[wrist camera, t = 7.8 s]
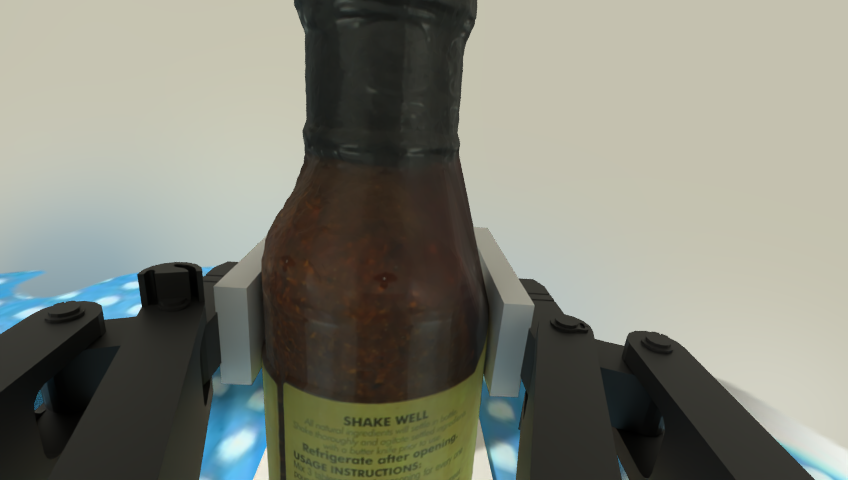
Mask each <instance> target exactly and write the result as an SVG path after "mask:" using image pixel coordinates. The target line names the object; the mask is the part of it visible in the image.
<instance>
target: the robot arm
mask: <svg viewBox="0 0 848 480" xmlns="http://www.w3.org/2000/svg"><path fill="white" fill-rule="evenodd" d="M473 228H474V233H475V238H476V243H477V248H478V253H479V258H480V263H481V268H482V273H483V278H484V283H485V288H486V293H487V298H488V303H489V328H488V338H487V348H486V360H485V365H484V377H485V380H486V384H487V388H488V391H489V395H490V396H498V397H518V394H519V389H520V383H521V379H522V382H523V384H524V387H525V389H526V391H525V397H524V402H523V407H522V412H521V418H520V423H519V428H518V429H519V430H520V441H519V451H518V462H517V473H516V480H622V479H621V473H620V468H619V463H618V458H619V460H620V462H621V464H622V466H623V468H624V470H625V472H626V474H627V476H628V478H629V480H815V479H814V478H813V477H812V476H811V475H810V474H809V473H808V472H807V471H806V470H805V469H804V468H803V467H802V466H801V465H800V464H799V463H798V462H797V461H796V460H795V459H794V458H793V457H792V456H791V455H790V454H789V453H788V452H787V451H786V450H785V449H784V448H783V447H782V446H781V445H780V444H779V443H778V442H777V441H776V440H775V439H774V438H773V437H772V436H771V435H770V434H769V433H768V432H767V431H766V430H765V429H764V428H763V427H762V426H761V425H760V424H759V423H758V422H757V421H756V420H755V419H754V418H753V417H752V415H751V414H750V413H749V412H748V411H747V410H746V409H745V408H744V407H743V406H742V405H741V404H740V403H739V402H738V401H737V400H736V399H735V398H734V397H733V396H732V395H731V394H730V393H729V392H728V391H727V390H726V389H725V388H724V387H723V386H722V385H721V384H720V383H719V382H718V381H717V380H716V379H715V378H714V377H713V376H712V375H711V374H710V373H709V372H708V371H707V370H706V369H705V368H704V367H703V366H702V365H701V364H700V363H699V362H698V361H697V360H696V359H695V358H694V357H693V356H692V355H691V354H690V353H689V352H688V351H687V350H686V349H685V348H684V347H683V346H681V345H680V344H679V343H678V342H676V341H674V340H672V339H670V338H668V336H665V335H663V334H661V335H660V334H659V333H656V332H647V331H634V332H631V333H629V334H628V336H627V339H626V343H625V346H622V345H617V344H613V343H609V342H604V341H600V340H597V339H594V334H593V331H592V329H591V327H590V326H589V325H588V324H586V323H585V322H584V321H582V320H579V319H577V318H575V317H572V316H569V315H565V314H564V313H563V312H562V311H561V309H560V308H559V306H558V305H557V304H556V302H554V299H553V298H552V297H551V295H550V294H549V293H548V291H547V290H546V288H545V287H544V286H543V285H541V284H540V283H538V282H536V281H535V280H533V279H518V277H517V275H516V274H515V272H514V271H513V269H512V267H511V266H510V264H509V263H508V261H507V259H506V258H505V256H504V254H503V253H502V251H501V249H500V248H499V246H498V245H497V243H496V241H495V239H494V238H493V236H492V234H491V233H490V231H489V230H488V228H479V227H473ZM266 237H267V236H266ZM266 237H265V238H264V239H263V240H262V241H261V242H260V243H258V244H257V245H256V246H255V247H254V248H253V249H252V250H251V251H250V252H249V253H248V254H247V255H246V256H245V257H244V258H243V259H242V260H241V261H240V262H226V263H224V264H221V265H219V266H216V267H214V268H213V269H212V270H211V271H209V272H208V273H207V274H206V276H204V277H203V275H202V268H201V267H200V266H198V265H196V264H192V263H187V262H174V263H164V264H160V265H155V266H152V267H149V268H146V269H144V270H142V271H141V272H140V273H138V274H137V275H138V282H139V289H140V296H141V303H142V308H141V310H140V311H139V313H138V315H137V316H136V317H129V318H118V319H108V320H104V317H103V311H102V306H101V305H99V304H97V303H95V302H87V301H79V302H76V301H68V302H66V303H64V302H62V303H57V304H55V305H54V306H51V307H48V308H44V309H42V310H40V311H38V312H36V313H34V314H32V315H30V316H29V317H27V318H25V319H24V320H22V321H21V322H19V323H17V324H16V325H14V326H13V327H11V328H10V329H8V330H6V331H5V332H3V333H2V334H0V480H199V476H200V470H201V464H202V457H203V451H204V445H205V439H206V433H207V426H208V420H209V414H210V408H211V402H212V395H213V385H212V375H213V374H214V372H215V371H216V370H217V368H218V367H219V365H220V372H221V384H237V385H252V384H253V382H254V380H255V378H256V377H257V375H258V373H259V371H260V369H261V368H262V359H261V356H262V346H263V343H264V340H265V322H264V306H263V305H264V304H263V288H262V277H261V274H262V272H261V260H262V256H263V253H264V247H265V239H266ZM40 389H41V393H42V397H43V401H44V403H43V404H42V405H41V406H39V407H38V408H37V409H36V410H35V411H34V402H35V399H36V396H37V394H38V392H39V390H40ZM617 456H618V458H617Z"/></svg>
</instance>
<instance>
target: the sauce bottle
mask: <svg viewBox="0 0 848 480" xmlns="http://www.w3.org/2000/svg"><path fill="white" fill-rule="evenodd" d="M294 6H295V8H296V10H297V12H298V15H299V18H300V21H301V24H302V26H303V28H304V31H305V64H306V69H305V81H306V112H307V120H306V123H305V126H304V128H303V139H304V144H305V156H304V164H303V166H302V168H301V171H300V174H299V177H298V178H297V182H296V186H295V188H294V191H293V192H292V194H291V196H290V197H289V198H288V199H287V201H286V202H285V205H284V207H283V209H282V210H281V211H280V212H279V213H278V215H277V216H276V218H275V220H274V222H273V224H272V226H271V228H270V230H269V231H268V234H267V237H266V239H265V247H264V253H263V256H262V260H261V272H262V274H261V277H262V288H263V304H264V305H263V306H264V322H265V340H264V343H263V346H262V356H261V359H262V375H263V390H264V407H265V424H266V441H267V458H268V473H269V480H472V474H473V463H474V454H475V447H476V438H477V426H478V419H479V408H480V404H481V391H482V382H483V373H484V365H485V360H486V348H487V338H488V328H489V303H488V298H487V293H486V288H485V283H484V278H483V273H482V268H481V263H480V258H479V253H478V248H477V243H476V238H475V233H474V228H473V223H472V218H471V213H470V208H469V203H468V197H467V192H466V188H465V183H464V178H463V173H462V168H461V163H460V159H459V147H460V141H459V137H458V134H457V131H458V123H459V107H460V99H461V82H462V72H463V70H462V69H463V55H464V49H465V45H466V42H467V40H468V38H469V35H470V33H471V30H472V29H473V27H474V24H475V19H476V13H477V0H294Z"/></svg>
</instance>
